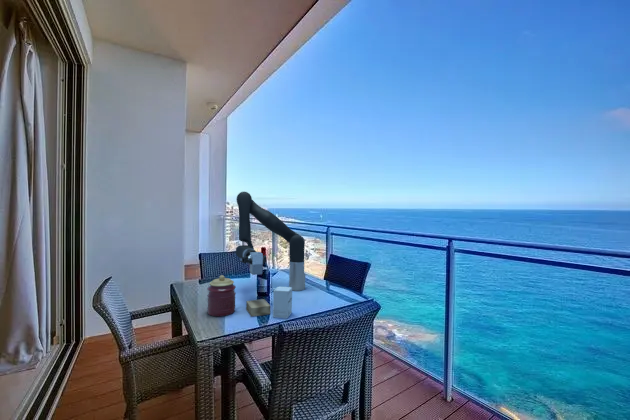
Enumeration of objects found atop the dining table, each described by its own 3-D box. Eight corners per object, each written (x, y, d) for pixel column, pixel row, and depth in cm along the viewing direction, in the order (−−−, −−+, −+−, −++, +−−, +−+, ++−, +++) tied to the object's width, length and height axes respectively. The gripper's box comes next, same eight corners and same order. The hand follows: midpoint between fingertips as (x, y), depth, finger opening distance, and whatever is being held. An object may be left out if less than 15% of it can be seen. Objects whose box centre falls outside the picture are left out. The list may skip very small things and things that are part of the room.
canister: (208, 318, 133) (208, 279, 133) (206, 309, 145) (206, 273, 145) (237, 314, 138) (237, 277, 138) (233, 305, 150) (233, 271, 150)
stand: (263, 306, 150) (264, 298, 150) (270, 314, 140) (270, 305, 140) (246, 309, 146) (246, 301, 146) (251, 316, 136) (251, 308, 136)
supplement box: (287, 318, 134) (288, 291, 134) (272, 317, 136) (272, 290, 136) (292, 313, 141) (292, 287, 141) (277, 311, 143) (277, 285, 143)
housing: (259, 271, 150) (260, 251, 150) (262, 274, 145) (262, 253, 145) (249, 272, 148) (250, 252, 148) (252, 274, 143) (252, 254, 143)
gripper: (237, 249, 157) (242, 255, 141) (263, 248, 162) (271, 253, 147) (236, 263, 157) (242, 270, 141) (263, 262, 163) (271, 268, 147)
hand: (257, 262), depth 144 cm, fingers closed on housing, 5 cm apart
